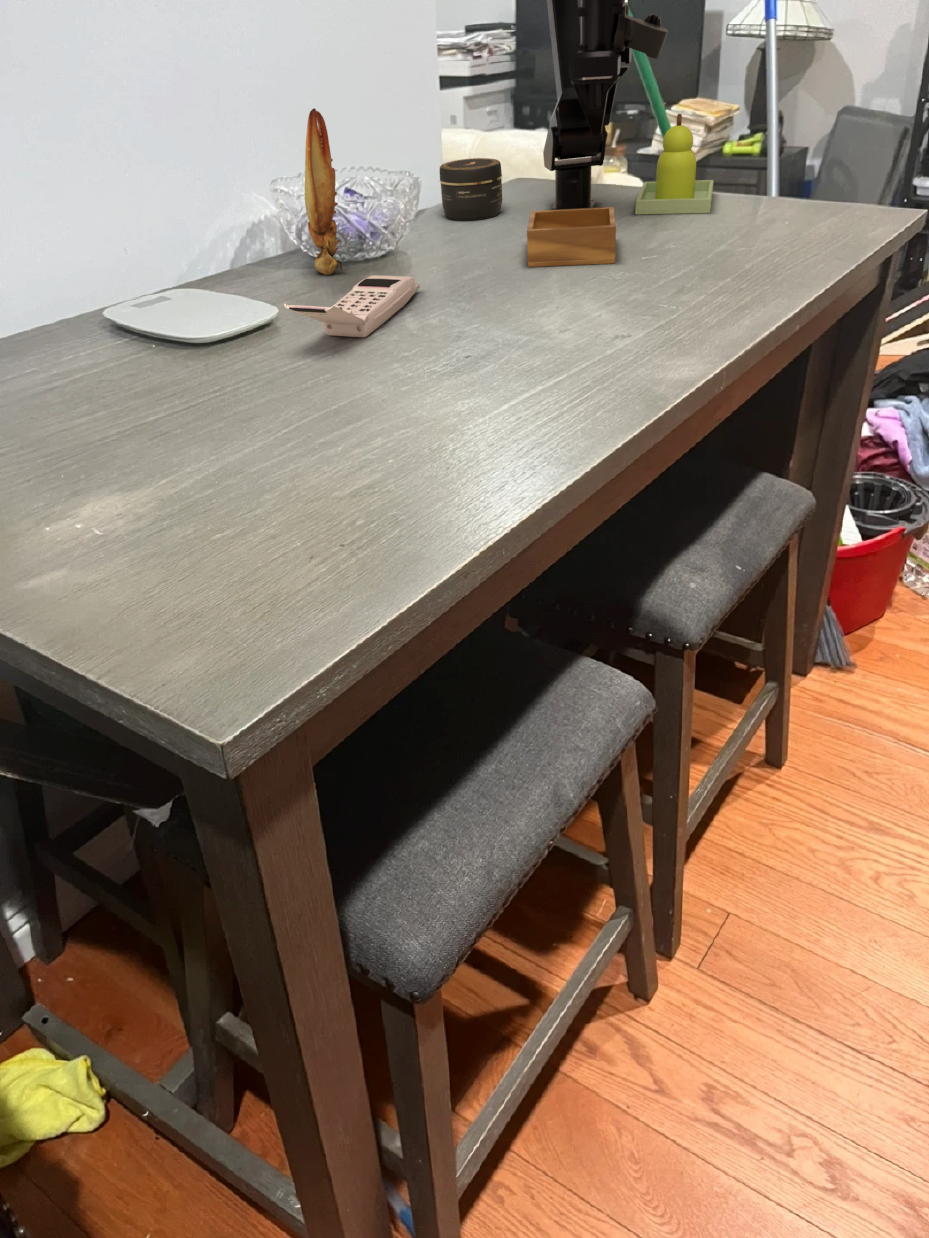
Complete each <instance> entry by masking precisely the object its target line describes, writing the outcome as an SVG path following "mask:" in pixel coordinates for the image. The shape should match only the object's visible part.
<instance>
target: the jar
mask: <svg viewBox="0 0 929 1238" xmlns="http://www.w3.org/2000/svg"><path fill="white" fill-rule="evenodd" d="M502 178H503V173H502V163H501V161H500V160H499V159H496V158H488V157H487V158H486V157H474V158H463V159H456V160H455V159H454V160H451V161H447V162H444V163H442V164H441V165H440V166H439V183H440V193H441V203H442V209H443V212H444V214H445V216H446V217H447V218H448V219H449V220H453V221H462V222H464V221H465V222H466V221H467V222H469V221H470V222H471V221H472V222H473V221H481V220H486V219H487V220H488V219H490V218H494V217H496V216H498V215H499V213H500V212H501V211H502V205H503V183H502V182H503V179H502Z"/></svg>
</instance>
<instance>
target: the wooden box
mask: <svg viewBox="0 0 929 1238" xmlns="http://www.w3.org/2000/svg"><path fill="white" fill-rule="evenodd" d="M615 215H616V214H615V208H614V206H603V207H602V206H601V207H593V208H581V209H562V210H551V209H545V210H544V209H543V210H531V212H530V214H529V219H528V225H527V229H526V244H527V247H526V248H527V250H526V251H527V267H528V268H538V267H562V266H565V267H566V266H584V265H585V266H587V265H605V264H615V263H616V239H617V238H616V237H617V223H616V216H615Z"/></svg>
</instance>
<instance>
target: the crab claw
mask: <svg viewBox="0 0 929 1238" xmlns="http://www.w3.org/2000/svg"><path fill="white" fill-rule="evenodd" d="M304 155H305V157H304V158H305V159H304V205H305V211H306V212H305V213H306V215H307V218H308V222H307V229H308V231H309V235H310V238H311V240H312V242H313V244H314V246H315V247H316V248H317V249H319V251H320V252H319V253H318V252H316V256H315V258H314V268H315V271H317V273H320V274H323V275H325V276H331V275H333V273H334V272H335V270H336V269H337V267H338V265H339V266H340V270H341V271H342V270H343V266H342V265H343V264H342V261H341V260H339V259H337V258H336V256H335V255H336V252H337V250H339V247H338V243H339V242H340V240H339V239H337V232H338V231H337V230H338V229H337V226H338V225H337V223H336V221H335V220H334V214H337V211H336V209H335V208H336V207H337V206H338V205H339V203H338V202H336V196H337V194H338V192H337V191H336V184H337V183H336V169H335V167H333V166H332V163H333V161H334V159H333V158H332V154H331V146H330V140H329V134H328V129H327V125H326V122H325V119H324V116H323V115H322V113H321V112H320V111H318V110H317V109H316V108H312V109H311V110H310V111H309V113H308V117H307V126H306V137H305V154H304Z"/></svg>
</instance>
